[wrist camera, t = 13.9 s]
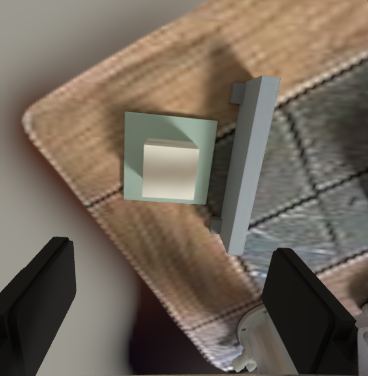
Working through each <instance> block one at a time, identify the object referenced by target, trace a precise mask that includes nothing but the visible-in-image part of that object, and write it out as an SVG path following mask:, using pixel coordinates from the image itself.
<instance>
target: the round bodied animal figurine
mask: <svg viewBox="0 0 368 376" xmlns="http://www.w3.org/2000/svg"><path fill="white" fill-rule="evenodd" d="M362 312H363V313H364V314H365V315H366V316H367V317H368V303H366V304H365V305H363V307H362Z"/></svg>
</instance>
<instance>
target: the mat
mask: <svg viewBox="0 0 368 376" xmlns="http://www.w3.org/2000/svg"><path fill="white" fill-rule="evenodd" d="M217 123H218V121H213V120H204V119H194V118H184V117H175V116H165V115H155V114H146V113H136V112H127V111H125V141H124V199H126V200H141V201H157V202H172V203H188V204H203V205H206V200H207V193H208V186H209V179H210V172H211V165H212V158H213V151H214V144H215V137H216V130H217ZM148 138H155V139H167V140H178V141H190V142H194V143H195V144H196V146H197V147H198V148H199V149H200V150H199V158H198V167H197V175H196V184H195V192H194V200H185V199H168V198H152V197H142V188H143V158H144V144H145V142H146V141H147V139H148Z"/></svg>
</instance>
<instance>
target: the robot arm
mask: <svg viewBox="0 0 368 376" xmlns="http://www.w3.org/2000/svg"><path fill="white" fill-rule="evenodd" d="M75 295H76V279H75V262H74V246H73V241H69V238H68V237H53V238H52V239H51V240H50V241H49V242H48V243H47V244H46V245H45V246H44V247H43V249H42V250H41V251H40V252H39V253H38V254H37V255H36V256H35V257H34V258H33V260H32V261H31V262H30V263H29V264H28V265H27V266H26V267H25V268H23V269H22V270H21V271H20V272H19V273H18V274H17V275H16V276H15V277H14V278H13V279H12V281H11V282H10V283H9V284H8V285H7V286H6V287H5V288H4V289H3V290H2V291H1V292H0V376H35V375H36V373H37V372H38V369H39V367H40V365H41V364H42V362H43V359H44V357H45V355H46V354H47V352H48V350H49V348H50V346H51V344H52V342H53V340H54V338H55V336H56V334H57V331H58V330H59V328H60V326H61V324H62V322H63V320H64V318H65V316H66V314H67V311H68V310H69V308H70V306H71V303H72V301H73V300H74V298H75ZM262 301H263V305H260V306H257V307H255V308H253V309H252V310H250V311H249V312H248V313H247V314H246V315H245V316H244V317H243V318H242V319H241V321H240V322H239V325H238V329H237V335H238V338H239V341H240V343H241V345H242V346H243V347H244V349H243V350H242V354H241V355H239V356H237V357H236V358H235V359H234V360H233V361H232V366H233V368H234V370H235V371H237V372H239V371H240V370H241V369H243V368H244V367H245V365H246V367H247V369H248V370H249V371H250V372H251V371H252V370H254V369H255V368H256V367H257V368H258V371H259V375H258V374H255V375H254V374H253V375H252V374H251V375H249V374H246V375H245V374H242V375H241V374H234V375H136V376H368V327H365V328H361V329H358V328H357V327H356V326H355V323H356V320H355V319H354V317H353V316H352V315H351V314H350V313H349V312H348V311H347V310H346V309H345V307H344V306H343V305H342V304H341V303H340V302H339V301H338V300H337V299H336V297H335V296H334V295H333V294H332V293H331V292H330V291H329V290H328V289H327V287H326V286H325V285H324V284H323V283H322V282H321V281H320V280H319V279H318V278H317V276H316V275H315V274H314V273H313V272H312V271H311V270H310V269H309V268H308V266H307V265H306V264H305V263H304V262H303V261H302V260H301V259H300V258H299V256H298V255H297V254H296V253H295V252H294V251H293V250H292V249H291V248H278V249H277V250H276V251H274V252H273V255H272V258H271V262H270V266H269V270H268V273H267V277H266V281H265V285H264V289H263V292H262ZM130 376H135V375H130Z"/></svg>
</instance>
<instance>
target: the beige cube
mask: <svg viewBox="0 0 368 376" xmlns="http://www.w3.org/2000/svg"><path fill="white" fill-rule="evenodd" d="M199 150H200V149H199V148H198V147H197V146H196V144H195V143H194V142H190V141H178V140H167V139H155V138H148V139H147V141H146V142H145V144H144V158H143V188H142V197H152V198H168V199H185V200H194V192H195V184H196V175H197V167H198V158H199Z"/></svg>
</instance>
